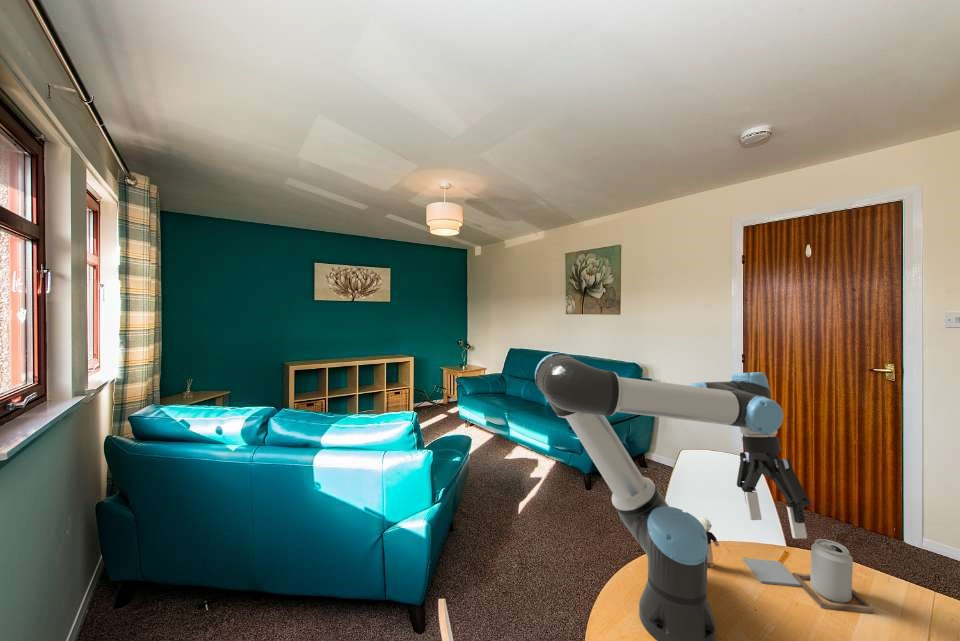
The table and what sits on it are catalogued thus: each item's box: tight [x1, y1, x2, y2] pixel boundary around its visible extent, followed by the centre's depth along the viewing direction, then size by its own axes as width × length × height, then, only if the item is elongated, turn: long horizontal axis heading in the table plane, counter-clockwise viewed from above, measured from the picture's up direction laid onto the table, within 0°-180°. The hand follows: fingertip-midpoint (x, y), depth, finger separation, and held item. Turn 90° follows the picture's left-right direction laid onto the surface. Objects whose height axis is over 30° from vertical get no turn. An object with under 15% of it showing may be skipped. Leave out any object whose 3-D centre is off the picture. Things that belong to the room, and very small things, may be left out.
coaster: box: [742, 557, 802, 588], centre depth 102 cm, size 9×9×1 cm
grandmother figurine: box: [697, 517, 720, 568], centre depth 105 cm, size 8×4×13 cm, turn 106°
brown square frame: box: [791, 572, 875, 614], centre depth 95 cm, size 11×11×1 cm
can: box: [809, 538, 854, 604], centre depth 94 cm, size 8×8×12 cm
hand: (776, 528), depth 92 cm, fingers open, 13 cm apart
